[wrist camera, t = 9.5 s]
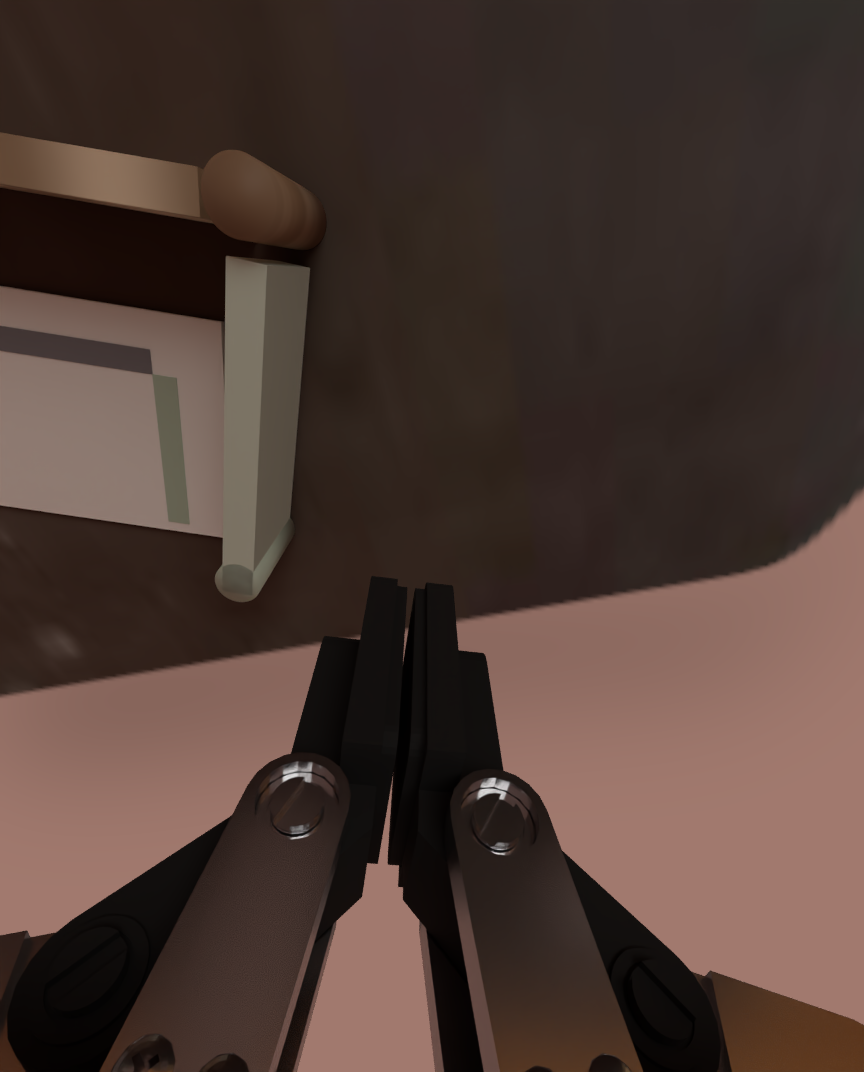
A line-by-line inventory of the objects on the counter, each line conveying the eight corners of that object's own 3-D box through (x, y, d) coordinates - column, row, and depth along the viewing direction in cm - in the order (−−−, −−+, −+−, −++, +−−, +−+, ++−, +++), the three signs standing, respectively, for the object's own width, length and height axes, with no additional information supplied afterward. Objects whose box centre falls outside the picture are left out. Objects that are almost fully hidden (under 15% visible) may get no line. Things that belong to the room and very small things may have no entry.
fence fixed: (-91, 184, 18) (-311, 147, 13) (-111, 116, 17) (-356, 46, 12) (325, 254, 19) (276, 245, 14) (327, 192, 18) (276, 157, 13)
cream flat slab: (271, 258, 19) (215, 253, 14) (317, 269, 19) (277, 267, 15) (257, 539, 25) (214, 597, 20) (293, 546, 25) (259, 605, 20)
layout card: (-12, 500, 24) (-18, 503, 24) (-79, 272, 20) (-87, 272, 19) (233, 536, 25) (230, 539, 25) (224, 321, 20) (220, 322, 20)
